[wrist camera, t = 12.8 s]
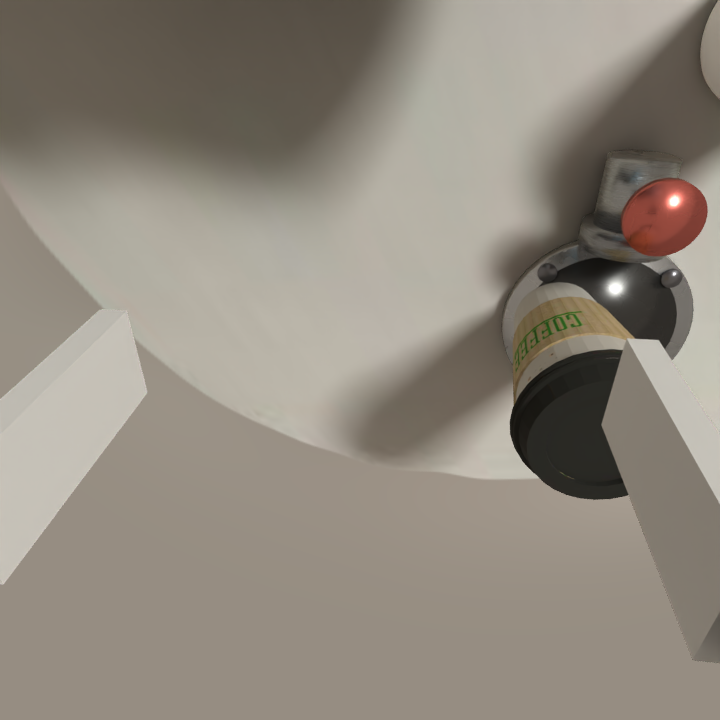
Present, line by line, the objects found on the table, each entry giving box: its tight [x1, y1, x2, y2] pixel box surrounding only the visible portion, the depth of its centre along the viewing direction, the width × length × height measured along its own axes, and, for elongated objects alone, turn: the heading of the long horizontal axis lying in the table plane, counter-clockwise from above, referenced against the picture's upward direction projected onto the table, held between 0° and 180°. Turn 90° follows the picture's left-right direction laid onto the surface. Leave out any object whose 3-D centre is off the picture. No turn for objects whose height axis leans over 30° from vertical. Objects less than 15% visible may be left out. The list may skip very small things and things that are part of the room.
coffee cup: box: [510, 282, 635, 500], centre depth 37 cm, size 10×10×15 cm
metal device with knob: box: [502, 150, 707, 365], centre depth 40 cm, size 20×14×9 cm
